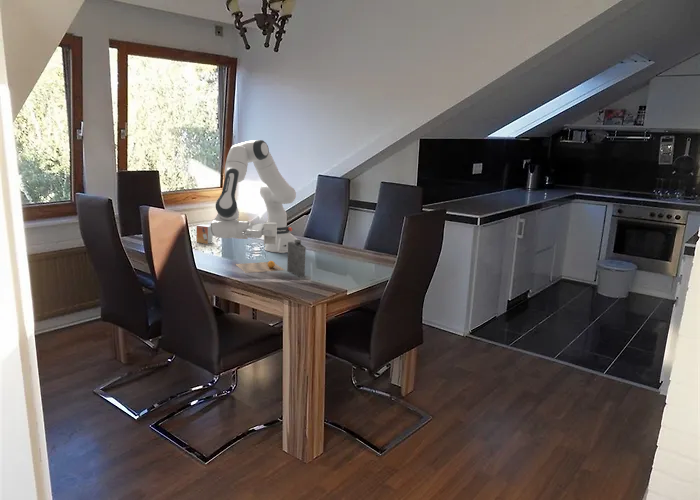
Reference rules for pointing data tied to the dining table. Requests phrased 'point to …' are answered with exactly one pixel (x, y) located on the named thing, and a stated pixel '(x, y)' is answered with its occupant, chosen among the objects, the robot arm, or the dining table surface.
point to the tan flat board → (258, 267)
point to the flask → (296, 258)
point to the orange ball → (271, 264)
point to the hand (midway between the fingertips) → (272, 231)
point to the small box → (204, 234)
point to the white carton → (273, 237)
